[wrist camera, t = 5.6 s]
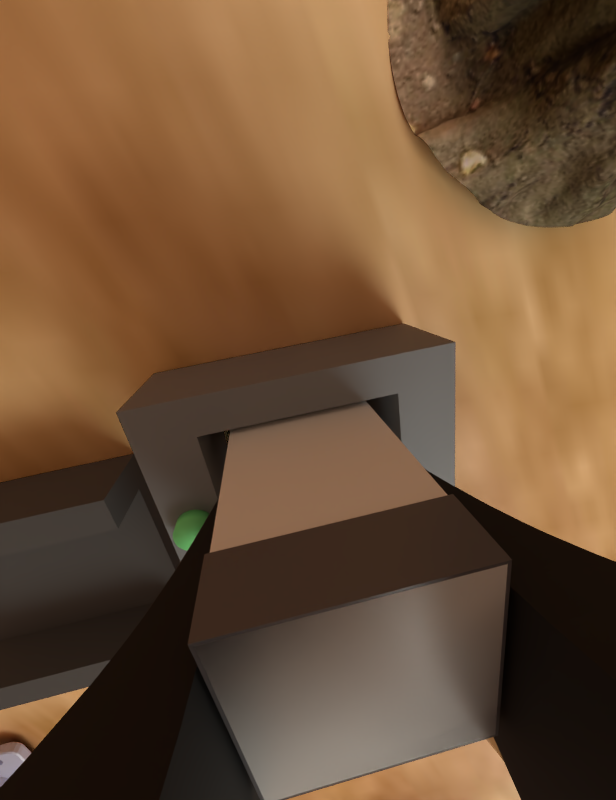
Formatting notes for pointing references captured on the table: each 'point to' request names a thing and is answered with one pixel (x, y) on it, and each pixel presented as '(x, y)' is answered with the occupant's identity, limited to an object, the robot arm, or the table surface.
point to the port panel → (286, 409)
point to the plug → (345, 605)
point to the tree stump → (514, 100)
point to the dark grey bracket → (75, 574)
